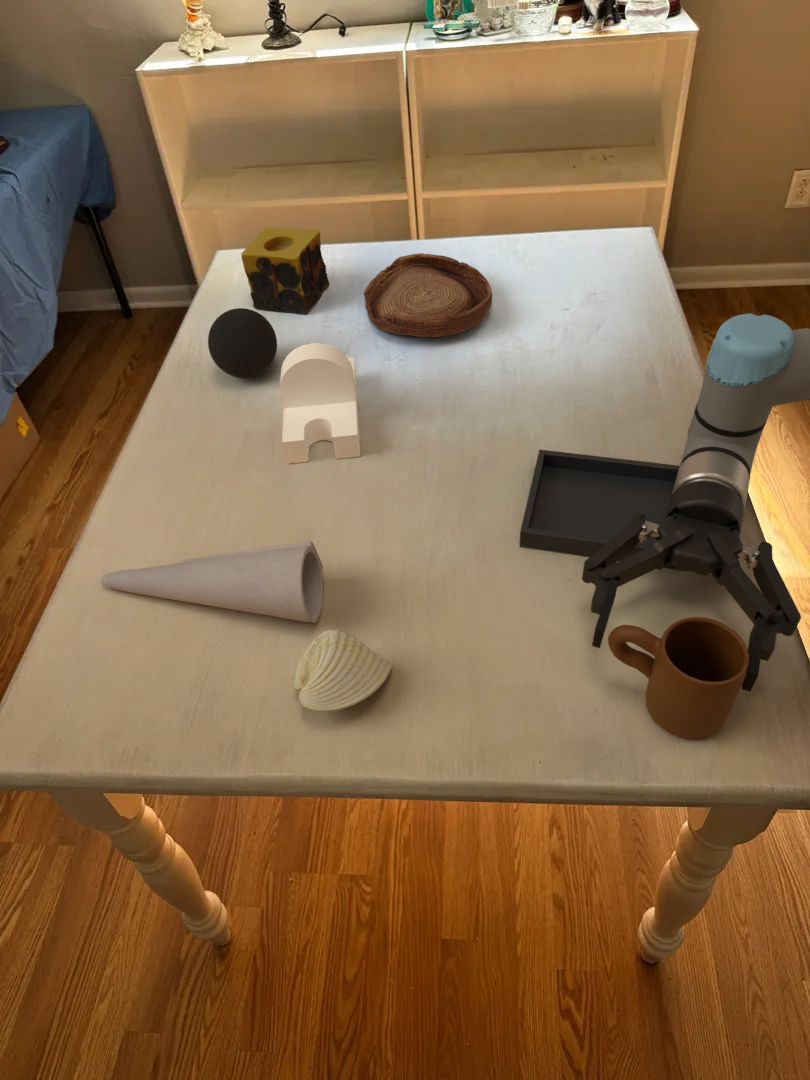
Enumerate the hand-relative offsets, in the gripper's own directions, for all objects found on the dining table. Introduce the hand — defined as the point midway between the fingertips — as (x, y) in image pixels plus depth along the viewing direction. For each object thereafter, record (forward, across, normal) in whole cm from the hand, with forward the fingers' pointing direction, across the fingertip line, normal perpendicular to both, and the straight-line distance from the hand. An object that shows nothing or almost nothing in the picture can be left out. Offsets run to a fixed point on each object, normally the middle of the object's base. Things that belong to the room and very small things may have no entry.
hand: (671, 660), depth 72 cm
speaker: (-36, +68, -8) cm, 77 cm away
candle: (-57, +72, -8) cm, 92 cm away
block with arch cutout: (-29, +52, -7) cm, 59 cm away
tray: (-23, +10, -6) cm, 26 cm away
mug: (0, 0, -6) cm, 6 cm away
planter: (+6, +49, -7) cm, 49 cm away
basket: (-60, +48, -8) cm, 77 cm away
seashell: (+11, +29, -6) cm, 32 cm away
